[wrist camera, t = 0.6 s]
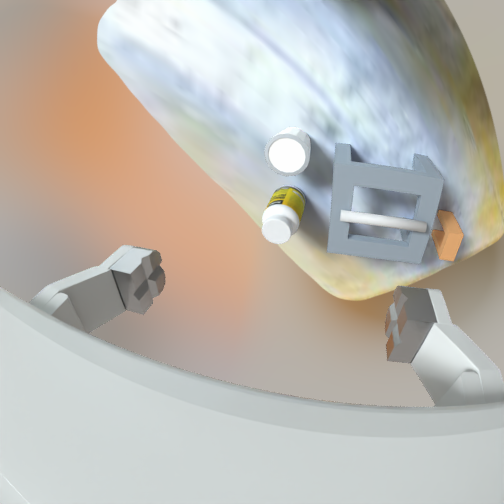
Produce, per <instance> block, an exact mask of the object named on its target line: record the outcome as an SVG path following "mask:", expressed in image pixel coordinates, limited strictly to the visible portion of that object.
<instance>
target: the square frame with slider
mask: <svg viewBox="0 0 504 504" xmlns="http://www.w3.org/2000/svg"><path fill="white" fill-rule="evenodd" d="M412 167H413V169H414V170H409V169H403V168H397V167H390V166H384V165H376V164H369V163H361V162H353V161H351V149H350V144H342V143H336V146H335V156H334V168H333V186H332V200H331V213H330V225H329V236H328V246H327V252H329V253H337V254H345V255H353V256H361V257H369V258H376V259H384V260H392V261H399V262H407V263H414V264H420V263H421V260H422V257H423V255H424V252H425V249H426V246H427V242H428V239H429V236H430V233H431V230H432V226H433V223H434V219H435V216H436V212H437V208H438V205H439V201H440V197H441V192H442V188H443V184H444V179H443V177H442V176H441V174H440V173H439V171H438V170H437V169H436V167H435V166H434V165H433V163H432V162H431V160H430V159H429V158H428V156H424V155H419V154H414V160H413V166H412ZM354 186H360V187H368V188H375V189H382V190H389V191H396V192H402V193H409V194H415V195H418V200H417V204H416V209H415V213H414V217H413V219H407V218H399V217H392V216H385V215H377V214H370V213H362V212H354V211H351V209H352V200H353V191H354ZM350 222H352V223H360V224H368V225H375V226H382V227H390V228H397V229H400V231H401V235H402V240H403V241H399V240H392V239H385V238H377V237H370V236H362V235H354V234H348V232H349V225H350Z"/></svg>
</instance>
